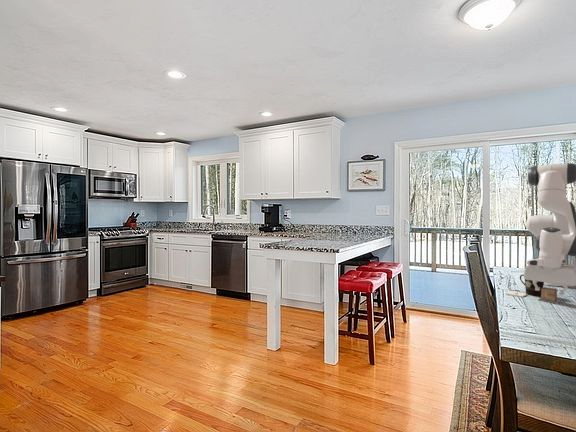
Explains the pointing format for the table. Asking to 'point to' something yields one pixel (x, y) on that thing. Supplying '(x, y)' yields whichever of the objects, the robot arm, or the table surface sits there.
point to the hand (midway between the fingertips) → (549, 292)
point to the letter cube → (549, 294)
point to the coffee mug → (532, 287)
